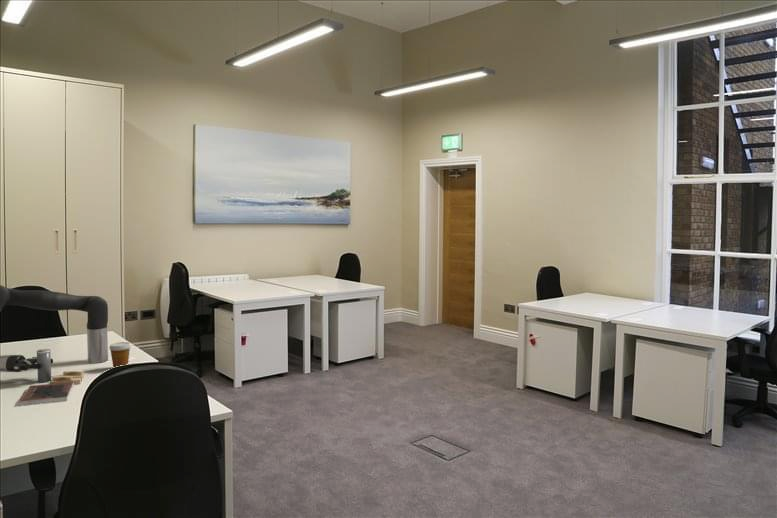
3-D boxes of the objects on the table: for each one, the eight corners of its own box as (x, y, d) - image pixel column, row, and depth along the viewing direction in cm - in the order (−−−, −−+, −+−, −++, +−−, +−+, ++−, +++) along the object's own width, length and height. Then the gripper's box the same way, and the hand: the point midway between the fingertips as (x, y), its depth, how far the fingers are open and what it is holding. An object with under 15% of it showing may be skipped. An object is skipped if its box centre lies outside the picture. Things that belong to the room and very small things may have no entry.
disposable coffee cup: (107, 371, 266) (107, 346, 265) (112, 366, 275) (111, 342, 274) (129, 370, 268) (128, 345, 267) (132, 365, 277) (132, 341, 276)
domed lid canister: (39, 379, 251) (37, 349, 250) (52, 378, 253) (51, 348, 252) (36, 383, 246) (35, 352, 245) (50, 382, 248) (49, 351, 247)
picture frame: (67, 402, 224) (74, 386, 244) (66, 396, 224) (73, 381, 244) (19, 407, 218) (30, 391, 237) (18, 401, 217) (29, 385, 237)
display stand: (56, 379, 252) (56, 371, 252) (83, 377, 256) (83, 369, 256) (51, 387, 241) (50, 379, 241) (79, 384, 245) (79, 376, 245)
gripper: (-1, 359, 241) (36, 359, 242) (20, 351, 256) (55, 351, 256) (0, 376, 242) (37, 376, 242) (21, 367, 256) (56, 367, 256)
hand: (46, 363), depth 249 cm, fingers open, 8 cm apart
